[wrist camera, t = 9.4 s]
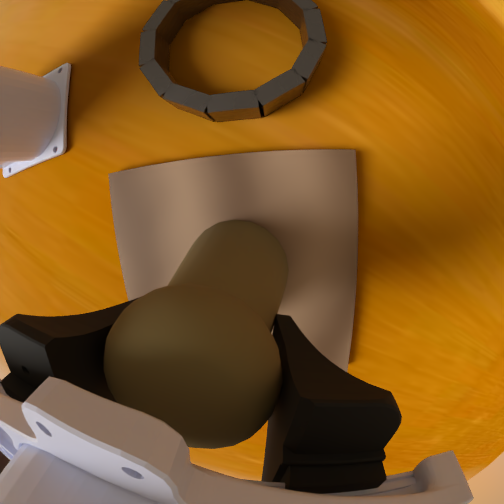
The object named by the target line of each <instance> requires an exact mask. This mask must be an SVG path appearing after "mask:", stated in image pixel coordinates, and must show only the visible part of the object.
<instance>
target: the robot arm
mask: <svg viewBox="0 0 504 504" xmlns="http://www.w3.org/2000/svg"><path fill="white" fill-rule="evenodd" d="M70 72H71V64H69V63H65V64H63V65H62V66H60V67H58V68H56V69H54V70H53V71H51V72H49V73H48V74H46V75H44V76H43V77H40V76H36V75H33V74H30V73H26V72H22V71H19V70H15V69H11V68H7V67H3V66H0V168H3V176H4V178H8V177H10V176H12V175H14V174H16V173H18V172H20V171H23V170H25V169H27V168H29V167H32V166H34V165H36V164H39V163H41V162H44V161H46V160H49V159H51V158H54V157H56V156H59V155H62V154H63V153H64V152H65V151H66V147H67V104H68V91H69V80H70ZM56 149H57V151H56ZM141 297H142V296H141ZM139 298H140V297H139ZM136 299H138V298H136ZM136 299H133V300H130V301H127V302H125V303H122V304H119V305H116V306H113V307H109V308H106V309H103V310H99V311H95V312H90V313H85V314H79V315H70V316H55V317H45V316H31V315H22V314H16V315H14V316H13V317H11V318H10V319H8V320H7V321H5V322H4V323H2V324H1V325H0V346H1V349H2V351H3V354H4V357H5V359H6V362H7V364H8V367H9V369H10V371H11V373H9V374H8V375H7V376H6V377H5V378H4V379H3V380H1V379H0V451H1V452H2V453H3V454H4V455H5V456H6V457H7V458H8V459H10V462H9V463H8V464H7V466H6V467H5V468H4V470H3V471H2V472H1V474H0V504H468V503H469V502H471V501H472V500H473V495H472V493H471V490H470V488H469V486H468V483H467V481H466V478H465V476H464V474H463V472H462V469H461V467H460V465H459V463H458V461H457V458H456V456H455V454H454V452H453V451H447V452H444V453H440V454H437V455H433V456H430V457H427V458H426V459H424V460H422V461H421V462H420V463H419V464H418V465H417V466H416V467H415V469H414V470H413V471H409V472H405V473H400V474H395V475H390V476H386V474H385V470H384V467H383V463H382V461H384V459H385V457H386V455H385V452H384V449H383V448H384V447H385V446H386V445H387V443H388V442H389V441H390V439H391V438H392V437H393V435H394V434H395V432H396V431H397V429H398V427H399V426H400V424H401V418H402V416H401V413H400V410H399V408H398V405H397V403H396V401H395V399H394V397H393V395H392V393H391V392H390V391H387V390H384V389H382V388H379V387H376V386H373V385H371V384H368V383H366V382H364V381H362V380H360V379H358V378H356V377H354V376H352V375H351V374H349V373H347V372H346V371H344V370H343V369H341V368H339V367H338V366H337V365H335V364H334V363H332V362H331V361H330V360H329V359H327V358H326V357H325V356H324V355H323V354H322V353H321V352H319V351H318V350H317V349H316V348H315V346H314V345H313V344H312V343H311V342H310V341H309V340H308V339H307V338H306V336H305V335H304V334H303V333H302V331H301V330H300V329H299V327H298V326H297V324H296V323H295V322H294V320H293V319H292V317H291V316H289V315H282V314H276V318H275V323H274V328H273V333H272V336H273V337H274V340H275V342H276V344H277V346H278V349H279V355H280V360H281V365H282V378H283V383H282V387H281V391H280V395H279V398H278V402H277V405H276V407H275V410H274V412H273V414H272V416H271V417H270V418H269V419H268V429H267V439H266V449H265V458H264V466H263V474H262V481H253V480H244V479H238V478H234V477H231V476H227V475H224V474H221V473H218V472H215V471H212V470H209V469H206V468H203V467H200V466H197V465H195V464H192V463H191V462H190V455H189V448H188V447H187V445H186V443H185V441H184V439H183V437H182V436H181V435H180V434H179V433H178V432H177V431H175V430H174V429H173V428H172V427H170V426H169V425H168V424H166V423H165V422H164V421H162V420H160V419H157V418H155V417H153V416H151V415H149V414H146V413H144V412H142V411H139V410H136V409H133V408H130V407H127V406H124V405H121V404H119V403H117V402H116V400H115V398H114V397H113V395H112V393H111V392H110V390H109V388H108V385H107V381H106V377H105V373H104V350H105V344H106V338H107V336H108V334H109V332H110V330H111V328H112V326H113V324H114V323H115V321H116V320H117V319H118V317H119V316H120V314H121V313H122V312H123V310H124V309H125V308H126V307H127V306H129V305H130V304H131V303H132V302H133V301H135V300H136Z"/></svg>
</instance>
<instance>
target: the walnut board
mask: <svg viewBox="0 0 504 504" xmlns="http://www.w3.org/2000/svg"><path fill="white" fill-rule="evenodd" d="M109 184H110V195H111V204H112V212H113V220H114V227H115V234H116V240H117V246H118V252H119V258H120V263H121V268H122V273H123V278H124V283H125V287H126V292H127V296H128V300H129V301H130V300H133V299H136V298H139V297H141V296H144V295H145V294H147V293H149V292H151V291H153V290H155V289H158V288H161V287H165V286H168V284H169V282H170V281H171V279H172V277H173V276H174V274H175V272H176V271H177V269H178V267H179V266H180V264H181V262H182V261H183V259H184V258H185V256H186V254H187V253H188V251H189V250H190V248H191V246H192V245H193V243H194V242H195V241H196V239H197V238H198V237H199V236H200V235H201V234H202V233H203V231H204V230H206V229H208V228H210V227H211V226H213V225H215V224H216V223H219V222H224V221H229V220H242V221H249V222H252V223H255V224H257V225H259V226H261V227H263V228H265V229H267V230H268V231H269V232H270V233H271V234H272V235H273V236H274V237H275V238H276V239H277V240H278V241H279V243H280V244H281V246H282V248H283V250H284V252H285V254H286V257H287V263H288V269H289V272H288V278H287V284H286V288H285V291H284V294H283V298H282V301H281V304H280V308H279V311H278V314H282V315H289V316H291V317H292V319H293V320H294V322H295V323H296V324H297V326H298V327H299V329H300V330H301V331H302V333H303V334H304V335H305V336H306V338H307V339H308V340H309V341H310V342H311V343H312V344H313V345H314V346H315V348H316V349H317V350H318V351H319V352H321V353H322V354H323V355H324V356H325V357H326V358H327V359H329V360H330V361H331V362H332V363H334V364H335V365H337V366H338V367H339V368H341V369H343V370H344V371H346V372H347V368H348V362H349V354H350V347H351V339H352V330H353V320H354V309H355V297H356V282H357V261H358V188H357V168H356V153H355V150H344V149H319V150H285V151H266V152H252V153H240V154H229V155H220V156H211V157H203V158H195V159H188V160H181V161H174V162H168V163H162V164H156V165H150V166H145V167H139V168H134V169H129V170H124V171H119V172H115V173H110V174H109ZM273 328H274V327H273ZM272 333H273V330H272ZM272 333H271V334H272Z"/></svg>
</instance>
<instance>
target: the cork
mask: <svg viewBox="0 0 504 504" xmlns="http://www.w3.org/2000/svg"><path fill="white" fill-rule="evenodd" d="M288 272H289V269H288V263H287V257H286V254H285V252H284V250H283V248H282V246H281V244H280V243H279V241H278V240H277V239H276V238H275V237H274V236H273V235H272V234H271V233H270V232H269V231H268V230H267V229H265V228H263V227H261V226H259V225H257V224H255V223H252V222H249V221H242V220H229V221H224V222H219V223H216V224H215V225H213V226H211V227H210V228H208V229H206V230H204V231H203V233H202V234H201V235H200V236H199V237H198V238H197V239H196V241H195V242H194V243H193V245H192V246H191V248H190V250H189V251H188V253H187V254H186V256H185V258H184V259H183V261H182V262H181V264H180V266H179V267H178V269H177V271H176V272H175V274H174V276H173V277H172V279H171V281H170V282H169V284H168V286H165V287H161V288H158V289H155V290H153V291H151V292H149V293H147V294H145V295H144V296H142V297H140V298H138V299H136V300H135V301H133V302H132V303H131V304H130V305H129V306H127V307H126V308H125V309H124V310H123V312H122V313H121V314H120V316H119V317H118V319H117V320H116V321H115V323H114V324H113V326H112V328H111V330H110V332H109V334H108V336H107V338H106V344H105V350H104V373H105V377H106V381H107V385H108V388H109V390H110V392H111V393H112V395H113V397H114V398H115V400H116V402H117V403H119V404H121V405H124V406H127V407H130V408H133V409H136V410H139V411H142V412H144V413H146V414H149V415H151V416H153V417H155V418H157V419H160V420H162V421H164V422H165V423H166V424H168V425H169V426H170V427H172V428H173V429H174V430H175V431H177V432H178V433H179V434H180V435H181V436H182V437H183V439H184V441H185V443H186V445H187V447H193V448H209V449H216V448H222V447H228V446H234V445H236V444H238V443H240V442H242V441H244V440H246V439H248V438H250V437H251V436H253V435H254V434H255V433H256V432H257V431H258V430H259V429H260V428H261V427H262V426H263V425H264V424H265V423H266V422H267V420H268V419H269V418H270V417H271V416H272V414H273V412H274V410H275V407H276V405H277V402H278V398H279V395H280V391H281V387H282V383H283V378H282V365H281V360H280V355H279V349H278V346H277V344H276V342H275V340H274V337H273V336H272V334H271V333H272V330H273V327H274V323H275V318H276V314H278V311H279V308H280V304H281V301H282V298H283V294H284V291H285V288H286V284H287V278H288Z"/></svg>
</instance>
